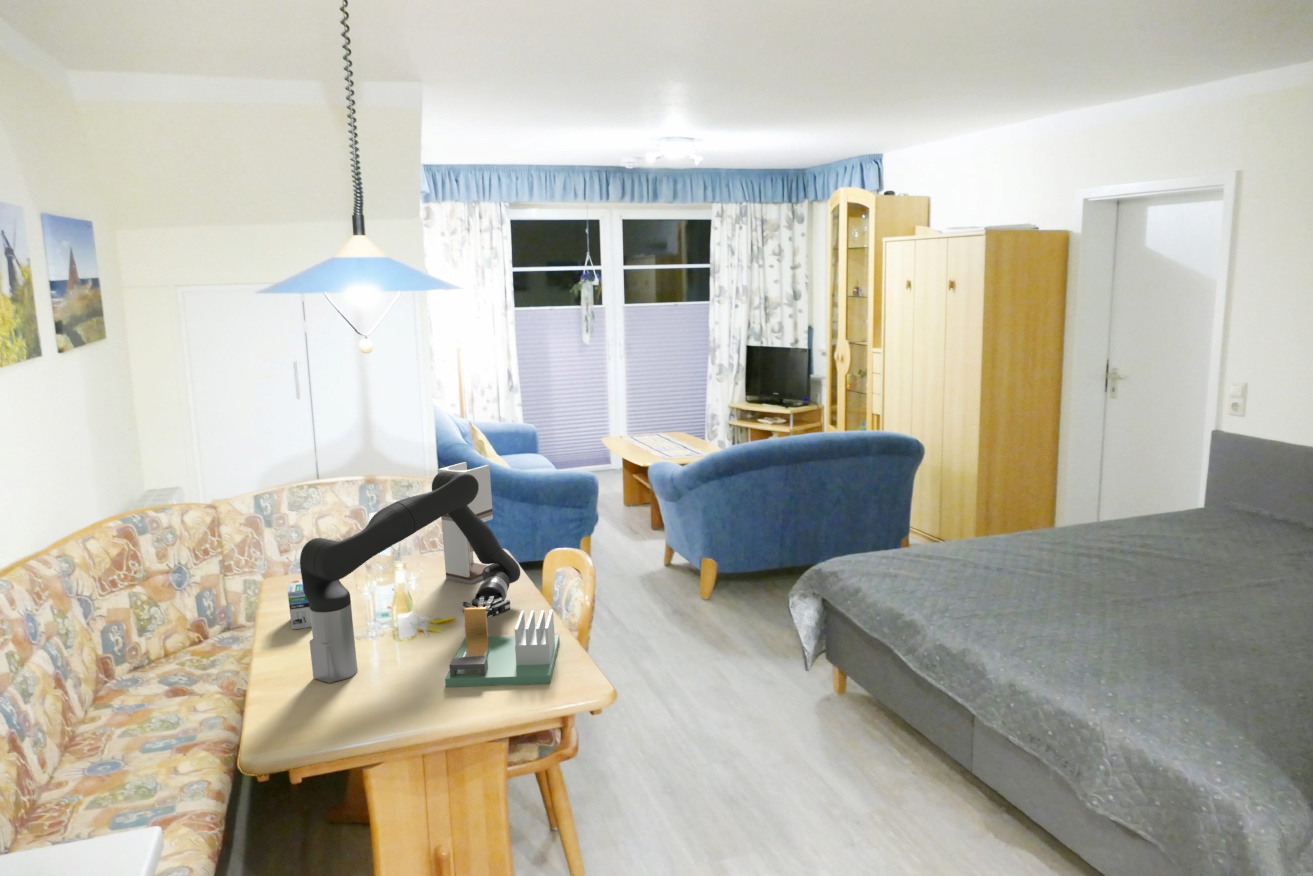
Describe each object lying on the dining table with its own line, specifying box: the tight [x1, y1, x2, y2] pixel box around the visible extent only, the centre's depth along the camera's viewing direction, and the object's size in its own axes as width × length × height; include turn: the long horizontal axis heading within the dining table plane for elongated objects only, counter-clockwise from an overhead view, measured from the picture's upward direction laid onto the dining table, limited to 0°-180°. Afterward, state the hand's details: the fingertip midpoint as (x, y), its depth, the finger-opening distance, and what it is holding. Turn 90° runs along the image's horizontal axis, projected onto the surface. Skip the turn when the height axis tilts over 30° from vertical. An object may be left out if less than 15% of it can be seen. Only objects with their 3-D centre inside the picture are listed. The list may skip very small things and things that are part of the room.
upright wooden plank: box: [463, 607, 489, 657], centre depth 220 cm, size 6×5×11 cm
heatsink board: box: [444, 609, 561, 688], centre depth 220 cm, size 24×24×11 cm
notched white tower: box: [437, 461, 494, 585], centre depth 283 cm, size 11×11×35 cm
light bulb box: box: [287, 579, 312, 630], centre depth 251 cm, size 11×7×11 cm, turn 19°
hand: (480, 619), depth 228 cm, fingers closed
